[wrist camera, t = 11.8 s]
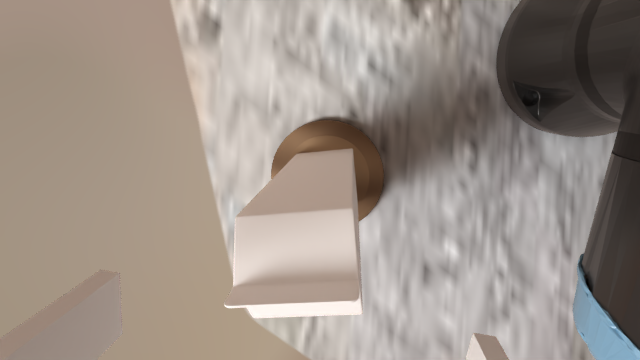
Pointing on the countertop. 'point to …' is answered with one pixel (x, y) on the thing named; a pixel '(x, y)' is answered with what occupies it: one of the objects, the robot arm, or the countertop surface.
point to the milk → (301, 241)
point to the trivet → (335, 138)
